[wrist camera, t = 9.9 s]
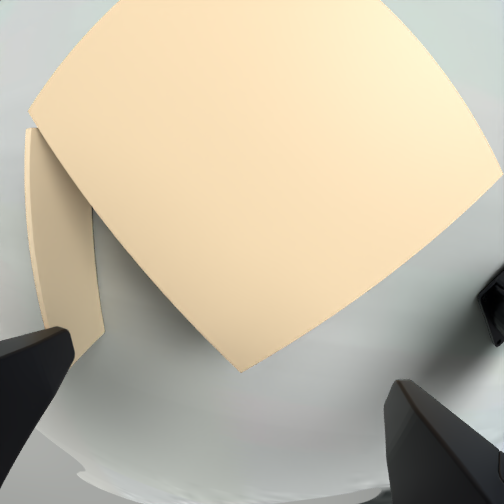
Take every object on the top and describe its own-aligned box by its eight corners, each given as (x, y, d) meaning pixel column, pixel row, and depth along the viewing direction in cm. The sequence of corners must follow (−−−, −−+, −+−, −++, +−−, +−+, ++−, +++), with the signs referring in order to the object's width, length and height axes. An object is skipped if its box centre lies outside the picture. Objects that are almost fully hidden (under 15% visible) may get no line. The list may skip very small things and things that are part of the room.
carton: (443, 167, 16) (503, 174, 10) (254, 313, 20) (240, 372, 14) (263, -30, 13) (252, -87, 7) (91, 118, 18) (27, 110, 12)
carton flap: (105, 332, 22) (27, 414, 12) (95, 329, 22) (17, 408, 12) (92, 131, 18) (-33, 128, 8) (82, 132, 18) (-41, 132, 8)
